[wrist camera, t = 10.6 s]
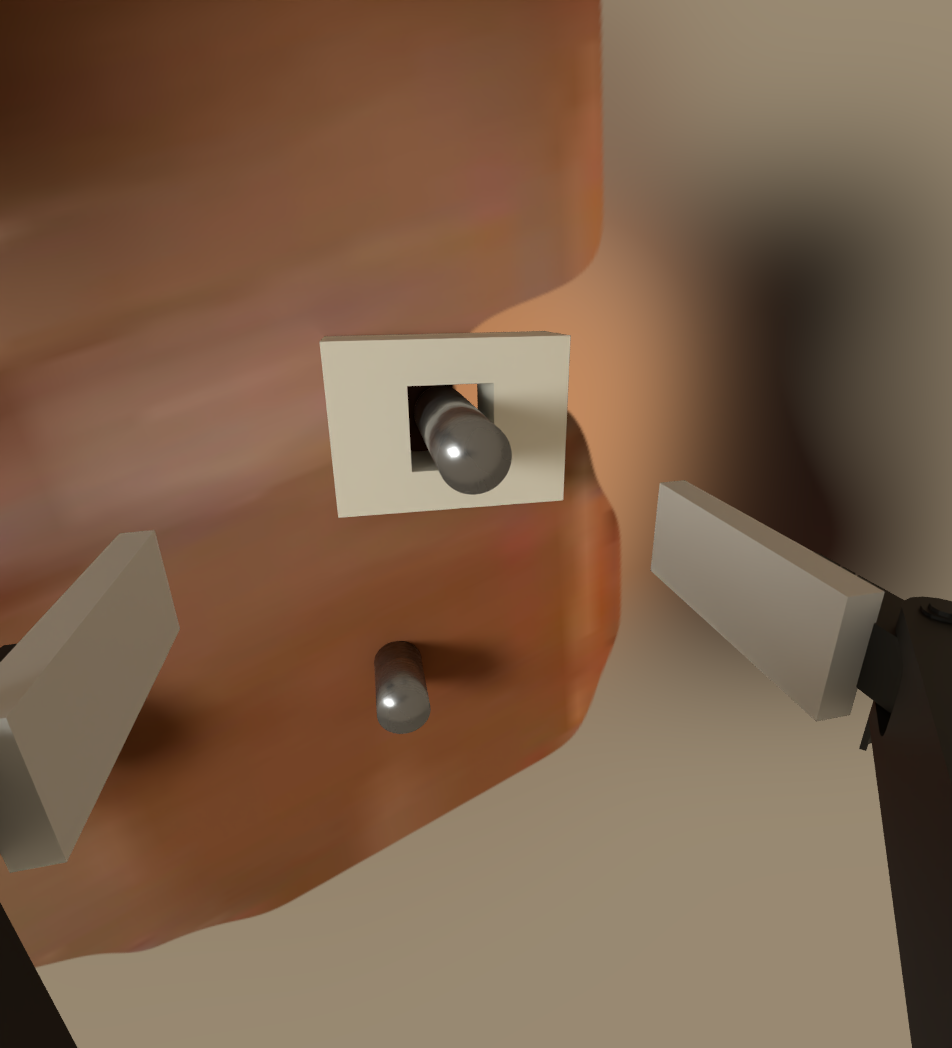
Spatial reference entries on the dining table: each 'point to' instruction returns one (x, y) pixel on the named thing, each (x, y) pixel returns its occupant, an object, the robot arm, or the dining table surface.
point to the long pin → (462, 441)
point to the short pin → (400, 688)
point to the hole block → (443, 359)
